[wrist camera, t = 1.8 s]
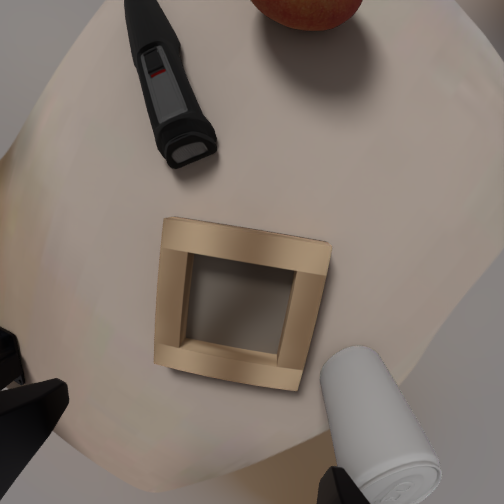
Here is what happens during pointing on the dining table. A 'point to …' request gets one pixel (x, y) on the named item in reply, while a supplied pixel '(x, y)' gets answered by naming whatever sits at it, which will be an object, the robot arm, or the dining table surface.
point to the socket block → (237, 301)
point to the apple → (308, 12)
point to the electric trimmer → (167, 86)
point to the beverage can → (376, 430)
